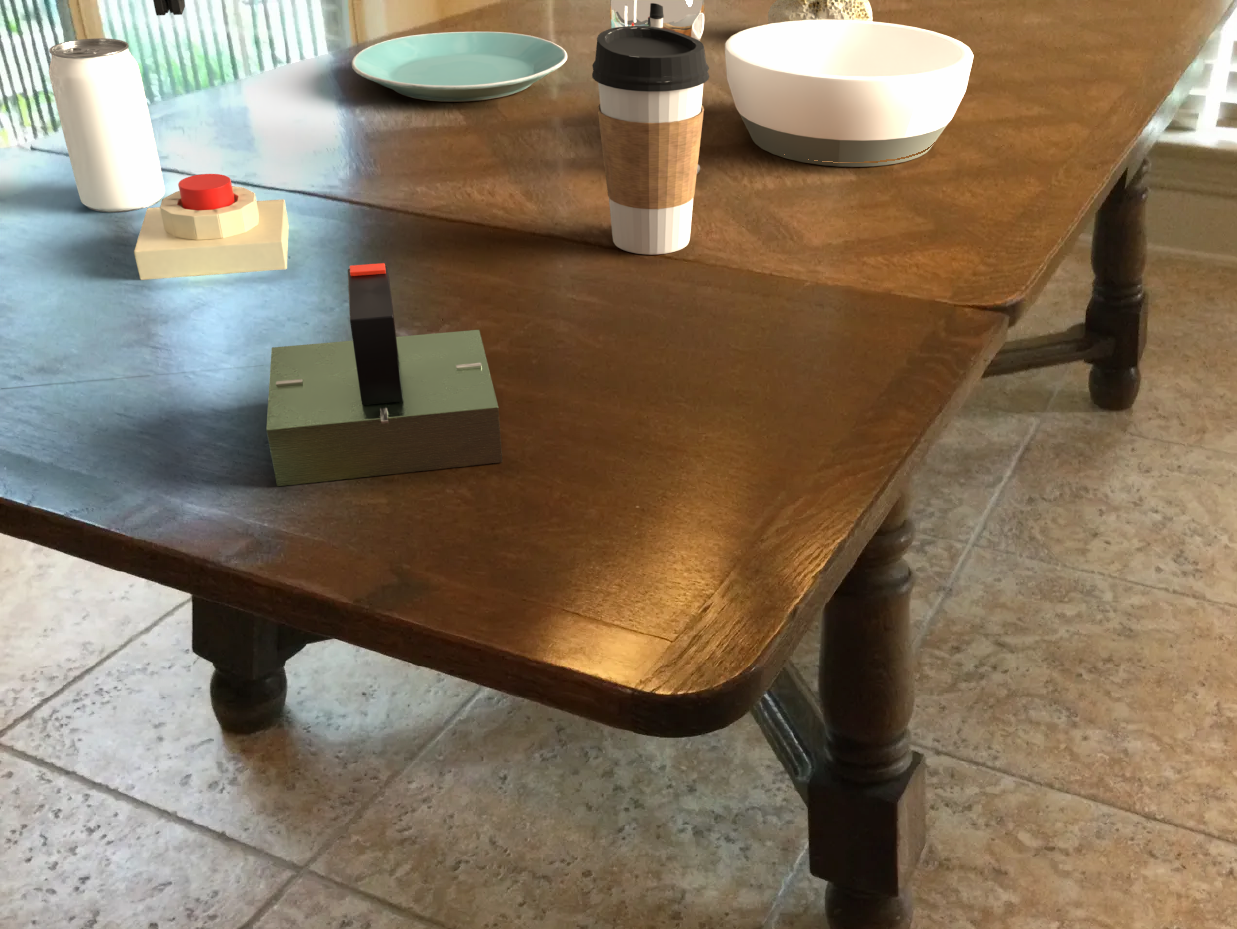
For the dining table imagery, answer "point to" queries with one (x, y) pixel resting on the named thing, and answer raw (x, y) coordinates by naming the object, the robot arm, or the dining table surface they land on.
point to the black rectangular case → (374, 334)
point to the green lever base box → (381, 411)
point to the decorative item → (819, 10)
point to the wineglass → (661, 17)
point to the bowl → (845, 88)
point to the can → (106, 124)
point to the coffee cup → (650, 133)
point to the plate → (459, 64)
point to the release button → (206, 192)
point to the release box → (213, 238)
